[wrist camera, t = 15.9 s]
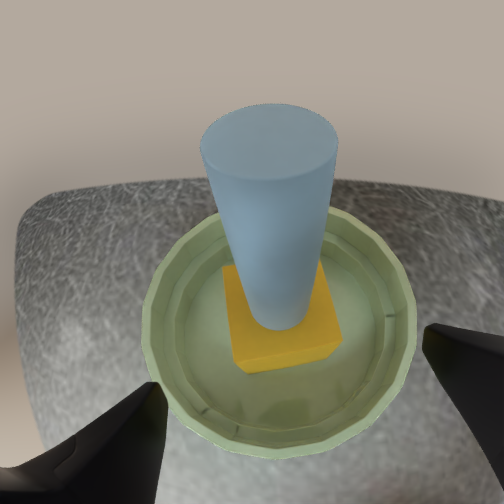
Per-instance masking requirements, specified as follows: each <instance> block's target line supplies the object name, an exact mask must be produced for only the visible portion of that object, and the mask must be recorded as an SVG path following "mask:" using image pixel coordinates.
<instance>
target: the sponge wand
mask: <svg viewBox="0 0 504 504" xmlns="http://www.w3.org/2000/svg"><path fill="white" fill-rule="evenodd" d="M337 148H338V137H337V134H336V132H335V130H334V128H333V126H332V125H331V124H330V123H329V122H328V121H327V120H326V119H325V118H323V117H322V116H320V115H319V114H317V113H315V112H313V111H311V110H308V109H305V108H302V107H298V106H293V105H287V104H260V105H253V106H248V107H244V108H241V109H238V110H235V111H233V112H230V113H228V114H226V115H224V116H222V117H221V118H219V119H218V120H216V121H215V122H214V123H213V124H211V125H210V126H209V128H208V129H207V130H206V131H205V133H204V135H203V136H202V139H201V143H200V152H201V156H202V159H203V162H204V166H205V169H206V172H207V176H208V179H209V182H210V186H211V189H212V192H213V195H214V199H215V202H216V205H217V208H218V212H219V215H220V218H221V221H222V224H223V228H224V231H225V234H226V237H227V240H228V243H229V246H230V250H231V253H232V256H233V259H234V262H235V264H234V265H229V266H223V267H222V271H223V281H224V289H225V298H226V306H227V315H228V323H229V331H230V338H231V346H232V353H233V361H234V363H235V364H236V365H237V366H238V367H240V368H241V369H242V370H243V371H244V372H245V373H247V374H254V373H260V372H266V371H272V370H278V369H283V368H288V367H293V366H298V365H303V364H307V363H312V362H316V361H320V360H324V359H327V358H328V357H329V356H330V355H331V354H332V352H333V351H334V350H335V349H336V348H337V347H338V346H339V345H340V344H341V342H342V341H343V338H342V334H341V330H340V327H339V323H338V319H337V316H336V312H335V308H334V305H333V301H332V298H331V294H330V291H329V288H328V284H327V281H326V278H325V274H324V271H323V268H322V265H321V261H320V253H321V248H322V243H323V237H324V232H325V227H326V221H327V215H328V209H329V203H330V197H331V191H332V184H333V178H334V171H335V164H336V156H337Z"/></svg>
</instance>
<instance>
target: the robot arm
mask: <svg viewBox="0 0 504 504" xmlns="http://www.w3.org/2000/svg"><path fill="white" fill-rule="evenodd" d="M422 351H423V353H424V355H425V357H426V359H427V360H428V362H429V364H430V366H431V368H432V369H433V371H434V373H435V375H436V377H437V379H438V380H439V382H440V384H441V385H442V387H443V388H444V390H445V391H446V393H447V394H448V396H449V397H450V399H451V400H452V402H453V403H454V405H455V406H456V408H457V409H458V411H459V412H460V414H461V415H462V417H463V419H464V420H465V422H466V423H467V425H468V427H469V428H470V430H471V432H472V433H473V435H474V436H475V438H476V440H477V442H478V443H479V445H480V447H481V448H482V450H483V452H484V454H485V455H486V457H487V459H488V461H489V463H490V464H491V467H492V469H493V470H494V472H495V474H496V476H497V478H498V480H499V482H500V484H501V486H502V488H503V490H504V336H499V335H493V334H488V333H483V332H477V331H472V330H467V329H462V328H457V327H452V326H447V325H442V324H438V323H433V324H431V325H428V326H426V327H425V329H424V335H423V342H422ZM167 416H168V400H167V398H166V396H165V394H164V391H163V389H162V387H161V385H160V384H159V383H158V382H146V383H145V384H143V385H142V386H141V387H139V388H138V389H137V390H135V391H134V392H133V393H131V394H130V395H129V396H127V397H126V398H124V399H123V400H122V401H120V402H119V403H118V404H116V405H115V406H114V407H112V408H111V409H109V410H108V411H107V412H105V413H104V414H102V415H101V416H100V417H98V418H97V419H95V420H94V421H93V422H91V423H90V424H88V425H87V426H85V427H84V428H83V429H81V430H80V431H78V432H77V433H76V434H75V435H72V436H71V437H69V438H68V439H67V440H65V441H63V442H62V443H60V444H59V445H57V446H56V447H54V448H52V449H50V450H48V451H47V452H45V453H43V454H41V455H39V456H37V457H36V458H33V459H31V460H29V461H28V462H25V463H23V464H21V465H19V466H16V467H12V468H1V467H0V504H155V497H156V491H157V486H158V480H159V474H160V469H161V463H162V458H163V453H164V448H165V441H166V429H167Z"/></svg>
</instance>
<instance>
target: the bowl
mask: <svg viewBox="0 0 504 504" xmlns="http://www.w3.org/2000/svg"><path fill="white" fill-rule="evenodd" d="M320 261H321V265H322V268H323V271H324V274H325V278H326V281H327V284H328V288H329V291H330V294H331V298H332V301H333V305H334V308H335V312H336V316H337V319H338V323H339V327H340V330H341V334H342V338H343V341H342V342H341V344H340V345H339V346H338V347H337V348H336V349H335V350H334V351H333V352H332V354H331V355H330V356H329V357H328V358H327V359H324V360H320V361H316V362H312V363H307V364H303V365H298V366H293V367H288V368H283V369H278V370H272V371H266V372H260V373H254V374H247V373H245V372H244V371H243V370H242V369H241V368H240V367H238V366H237V365H236V364H235V363H234V361H233V353H232V346H231V338H230V331H229V323H228V315H227V306H226V298H225V289H224V281H223V271H222V267H223V266H229V265H234V264H235V262H234V259H233V256H232V253H231V250H230V246H229V243H228V240H227V237H226V234H225V231H224V228H223V224H222V221H221V218H220V215H219V212H218V213H216V214H214V215H211V216H209V218H208V217H207V218H206V219H205V220H203V221H202V222H201V223H199V224H198V225H197V226H195V227H194V228H193V229H191V230H190V231H189V232H188V233H186V234H185V235H184V236H182V237H181V238H180V239H179V240H178V241H177V242H176V243H175V245H174V246H173V247H172V249H171V250H170V251H169V253H168V254H167V255H166V257H165V258H164V259H163V261H162V262H161V263H160V265H159V266H158V267H157V269H156V270H155V273H154V276H153V278H152V281H151V284H150V286H149V289H148V292H147V295H146V297H145V300H144V303H143V308H142V333H141V346H142V351H143V354H144V357H145V361H146V364H147V367H148V370H149V374H150V377H151V380H152V382H158V383H159V384H160V385H161V387H162V389H163V391H164V394H165V396H166V398H167V400H168V407H169V408H170V409H171V411H172V412H173V413H174V414H175V416H176V417H177V418H178V419H179V421H180V422H181V423H183V425H184V426H186V427H187V428H189V429H190V430H192V431H193V432H195V433H197V434H198V435H200V436H201V437H203V438H205V439H206V440H208V441H209V442H211V443H213V444H215V445H216V446H218V447H220V448H221V449H223V450H224V449H225V450H226V451H230V452H235V453H239V454H244V455H249V456H254V457H259V458H265V459H272V460H279V459H286V458H293V457H300V456H305V455H311V454H316V453H321V452H325V451H326V450H327V451H328V450H330V449H332V448H334V447H336V446H338V445H339V444H341V443H343V442H345V441H346V440H348V439H350V438H352V437H353V436H355V435H357V434H358V433H360V432H362V431H363V430H365V429H366V428H368V427H370V425H372V424H373V423H374V422H375V421H376V419H377V418H378V417H379V416H380V415H381V414H382V412H383V411H384V410H385V409H386V408H387V406H388V405H389V404H390V403H391V401H392V400H393V399H394V398H395V396H396V395H397V394H398V392H399V391H400V390H401V387H402V386H403V384H404V381H405V378H406V376H407V373H408V370H409V367H410V364H411V361H412V358H413V355H414V352H415V349H416V344H417V311H416V300H415V297H414V294H413V291H412V289H411V286H410V283H409V280H408V278H407V275H406V272H405V270H404V267H403V266H402V264H401V262H400V261H399V260H398V258H397V257H396V256H395V254H394V253H393V252H392V251H391V249H390V248H389V247H388V245H387V244H386V243H385V242H384V240H383V239H382V238H381V237H380V236H379V235H378V234H377V233H376V232H374V231H373V230H372V229H370V228H369V227H368V226H366V225H365V224H363V223H362V222H361V221H359V220H358V219H356V218H355V217H354V216H352V215H351V214H349V213H347V212H344V211H342V210H339V209H336V208H334V207H331V206H329V209H328V215H327V221H326V227H325V232H324V237H323V243H322V248H321V253H320Z"/></svg>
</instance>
